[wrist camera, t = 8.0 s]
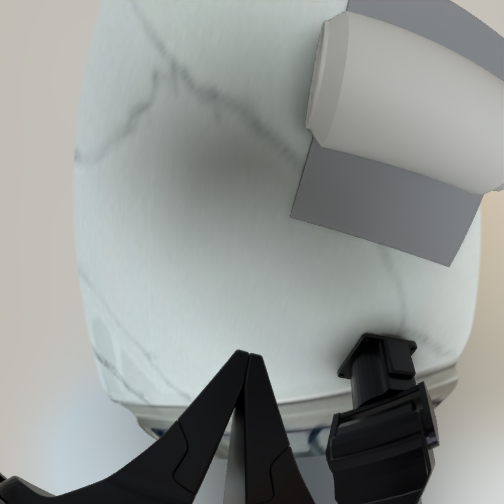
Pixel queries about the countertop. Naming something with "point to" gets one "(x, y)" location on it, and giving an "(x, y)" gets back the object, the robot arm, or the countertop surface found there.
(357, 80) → the can
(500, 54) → the mat
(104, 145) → the countertop surface
